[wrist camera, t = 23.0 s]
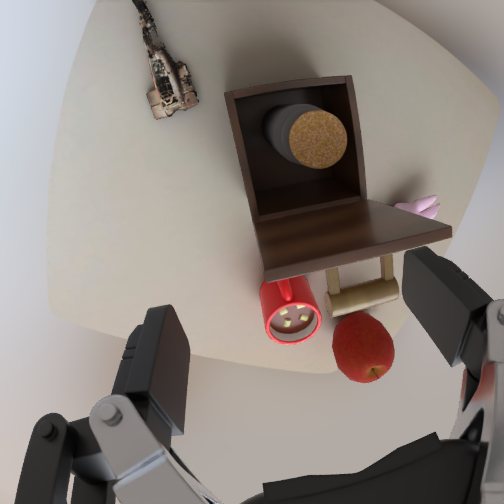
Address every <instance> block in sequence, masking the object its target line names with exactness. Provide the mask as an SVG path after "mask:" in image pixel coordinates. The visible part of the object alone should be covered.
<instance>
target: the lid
mask: <svg viewBox="0 0 504 504" xmlns="http://www.w3.org/2000/svg"><path fill="white" fill-rule="evenodd" d="M253 225H254V230H255V234H256V239H257V244H258V248H259V253H260V258H261V262H262V267H263V272H264V276H265V281H266V283H269V282H274V281H278V280H283V279H287V278H292V277H296V276H301V275H305V274H309V273H314V272H318V271H322V270H325V271H326V278H327V286H328V291H327V292H326V293H325V300H326V305H327V309H328V312H329V315H330V316H331V317H336V316H340V315H344V314H348V313H351V312H355V311H359V310H362V309H366V308H369V307H373V306H376V305H380V304H383V303H386V302H390V301H393V300H396V299H398V297H399V286H398V283H397V280H396V279H395V277H394V276H393V257H392V253H396V252H400V251H403V250H407V249H411V248H415V247H419V246H422V245H426V244H430V243H434V242H437V241H441V240H444V239H448V238H452V226H450V225H447V224H444V223H441V222H438V221H435V220H432V219H429V218H426V217H423V216H420V215H417V214H414V213H411V212H408V211H405V210H402V209H399V208H395V207H392V206H389V205H386V204H382V203H379V202H375V201H372V200H369V199H368V200H363V201H358V202H352V203H347V204H342V205H337V206H332V207H327V208H322V209H317V210H312V211H307V212H303V213H298V214H293V215H288V216H283V217H279V218H274V219H269V220H265V221H260V222H256V223H253ZM376 257H380V262H381V278H378V279H374V280H370V281H367V282H363V283H359V284H355V285H351V286H347V287H343V288H340V284H339V276H338V267H339V266H343V265H348V264H352V263H356V262H360V261H364V260H368V259H372V258H376Z"/></svg>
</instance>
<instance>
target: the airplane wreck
mask: <svg viewBox="0 0 504 504" xmlns="http://www.w3.org/2000/svg"><path fill="white" fill-rule="evenodd" d="M132 1H133V3H134V4H135V6H136V7H137V9H138V12H139V13H140V21H141V22H140V24H141V25H142V30H143V39H144V43H145V46H146V50H147V54H148V59H149V64H150V68H151V72H152V73H151V75H152V78H153V81H154V85H155V90H153V91H151V92H148V93H147V94H146V95H147V98H148V100H149V103H150V106H151V109H152V111H153V115H154V118H155V119H156V120H157V119H161V118H164V117H167V116H168V117H170V116H172V114H173V113H174V112H175V111H177V110H184V111H186V109H188V108H191V107H193V106H195V105H198V103H199V100H197V98H196V97H197V92H195V90H194V88H193V86H189V84H190V79H189V78H190V77H191V75H189V74H188V73H190V72H188V71H187V66H185V65H186V64H183V63H182V62H180V61H179V62H178V63H175V62H174V61H173V60H172V57H170V55H169V54H168V53H167V51H166V50H165V46H163V47H160V46H158V47H160V48H157V47H156V46H155V45H154V42H153V41H152V36H151V31H152V30H151V29H150V28H151V27H154V29H155V32H156V29H157V28H156V25H155V23H153V21H154V19H153V18H151V17H152V16H151V14H150V12H149V13H147V12H148V11H149V10H148V8H147V6H146V4H145V3H146V2H147V1H146V2H144V1H143V0H132ZM145 10H147V11H145ZM149 15H150V17H149ZM148 20H150V21H151V23H150V24H147V21H148ZM147 32H148V34H149V35H150V38H149V35H148V36H147ZM156 34H157V32H156ZM157 37H158V35H157ZM151 41H152V42H151ZM157 43H161V42H157ZM163 45H164V43H163ZM175 65H177V66H178V68H177V69H175ZM191 83H192V82H191ZM193 92H194V93H195V94H194V93H193Z"/></svg>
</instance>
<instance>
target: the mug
mask: <svg viewBox="0 0 504 504" xmlns="http://www.w3.org/2000/svg"><path fill="white" fill-rule="evenodd" d="M260 300H261V306H262V312H263V318H264V324H265V329H266V333H267V334H268V336H269V337H270V338H271V339H272V340H273V341H275V342H277V343H280V344H284V345H292V344H298V343H301V342H304V341H306V340H308V339H309V338H311V337H312V336H313V335H314V334H315V333H316V332H317V331H318V329H319V327H320V325H321V320H322V318H321V313H320V311H319V308H318V306H317V303H316V301H315V299H314V296H313V294H312V291H311V289H310V287H309V284H308V282H307V280H306V279H305V277H303V276H302V275H301V276H296V277H292V278H287V279H283V280H278V281H274V282H269V283H266V281H264V283H263V284H262V286H261V289H260Z"/></svg>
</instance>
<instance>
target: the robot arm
mask: <svg viewBox="0 0 504 504" xmlns="http://www.w3.org/2000/svg"><path fill="white" fill-rule="evenodd" d="M402 295H403V299H404V301H405V303H406V305H407V306H408V307H409V309H410V310H411V311H412V313H413V314H414V315H415V317H416V318H417V319H418V321H419V322H420V323H421V325H422V326H423V328H424V329H425V330H426V332H427V333H428V334H429V336H430V337H431V339H432V340H433V342H434V343H435V344H436V346H437V347H438V348H439V350H440V352H441V353H442V354H443V356H444V357H445V359H446V360H447V362H448V363H449V365H450V366H451V367H453V366H455V365H457V364H460V363H461V362H463V363H464V364H465V365H466V367H465V369H464V372H463V380H462V389H461V395H460V402H459V408H458V414H457V419H456V422H455V425H454V428H453V430H452V432H451V435H450V437H449V439H444V440H439V438H438V436H437V434H436V432H433V433H431V434H429V435H427V436H425V437H423V438H420V439H418V440H416V441H414V442H411V443H409V444H406V445H404V446H402V447H399V448H397V449H396V450H394V451H393V452H391V453H390V454H388V455H386V456H385V457H383V458H382V459H380V460H379V461H377V462H376V463H374V464H372V465H371V466H369V467H367V468H366V469H364V470H362V471H360V472H357V473H353V474H337V475H307V476H302V477H297V478H292V479H286V480H281V481H275V482H268V483H263V491H264V492H263V493H260V494H258V495H255V496H254V497H251V498H249V499H247V500H246V501H244V502H242V503H241V504H504V299H498V300H495V301H494V300H493V299H492V298H491V297H490V296H489V295H488V294H487V293H486V292H485V291H484V290H483V289H481V287H479V286H478V285H477V284H476V283H475V282H474V281H473V280H472V279H471V278H469V277H468V275H467V274H466V273H464V272H462V271H461V269H460V268H459V267H458V266H457V265H456V264H454V263H453V262H452V261H450V260H448V259H445V258H443V257H441V256H437V255H436V254H435V253H434V252H433V251H432V250H431V249H429V248H428V247H427V246H422V247H418V248H415V249H411V250H407V251H406V252H405V254H404V265H403V279H402ZM125 348H126V350H125V351H124V354H123V356H122V358H123V360H121V363H120V366H119V370H118V373H117V376H116V379H115V383H114V386H113V389H112V393H111V395H110V396H107V397H105V398H103V399H101V400H100V401H99V402H97V403H96V405H95V406H94V407H93V409H92V410H91V413H90V416H89V417H86V418H83V419H80V420H76V421H72V422H68V421H67V420H66V419H65V418H64V417H63V416H62V415H60V414H58V413H49V414H47V415H45V416H43V417H42V418H40V420H39V421H38V422H37V423H36V425H35V426H34V429H33V432H32V435H31V438H30V441H29V445H28V449H27V452H26V456H25V459H24V463H23V467H22V471H21V475H20V479H19V484H18V488H17V493H16V498H15V503H14V504H67V500H66V498H67V491H68V484H69V478H70V473H72V474H73V475H75V477H74V483H73V491H72V498H71V504H115V498H116V497H117V498H118V500H119V502H120V503H121V504H224V503H222V502H221V501H220V500H219V499H218V498H217V497H216V496H215V495H214V494H213V493H212V492H211V491H210V490H209V489H208V488H207V487H206V486H205V485H204V484H203V483H202V482H201V481H200V480H199V479H198V478H197V477H196V475H195V474H194V473H193V472H192V471H191V470H190V469H189V467H188V466H187V465H186V464H185V463H184V461H183V460H182V459H181V458H180V456H179V455H178V454H177V453H176V452H175V450H174V449H173V448H172V447H171V436H175V435H183V434H184V422H185V408H186V396H187V384H188V373H189V363H190V346H189V342H188V339H187V336H186V334H185V332H184V330H183V328H182V325H181V323H180V321H179V319H178V317H177V314H176V312H175V310H174V308H173V306H172V305H170V304H169V305H163V306H158V307H153V308H149V309H148V311H147V314H146V317H145V320H144V323H143V324H142V325H138V326H137V327H136V328H135V329H134V331H133V332H132V333H131V335H130V336H129V338H128V341H127V344H126V347H125Z"/></svg>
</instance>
